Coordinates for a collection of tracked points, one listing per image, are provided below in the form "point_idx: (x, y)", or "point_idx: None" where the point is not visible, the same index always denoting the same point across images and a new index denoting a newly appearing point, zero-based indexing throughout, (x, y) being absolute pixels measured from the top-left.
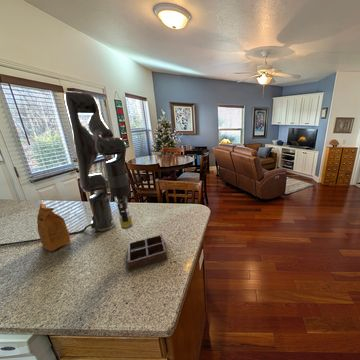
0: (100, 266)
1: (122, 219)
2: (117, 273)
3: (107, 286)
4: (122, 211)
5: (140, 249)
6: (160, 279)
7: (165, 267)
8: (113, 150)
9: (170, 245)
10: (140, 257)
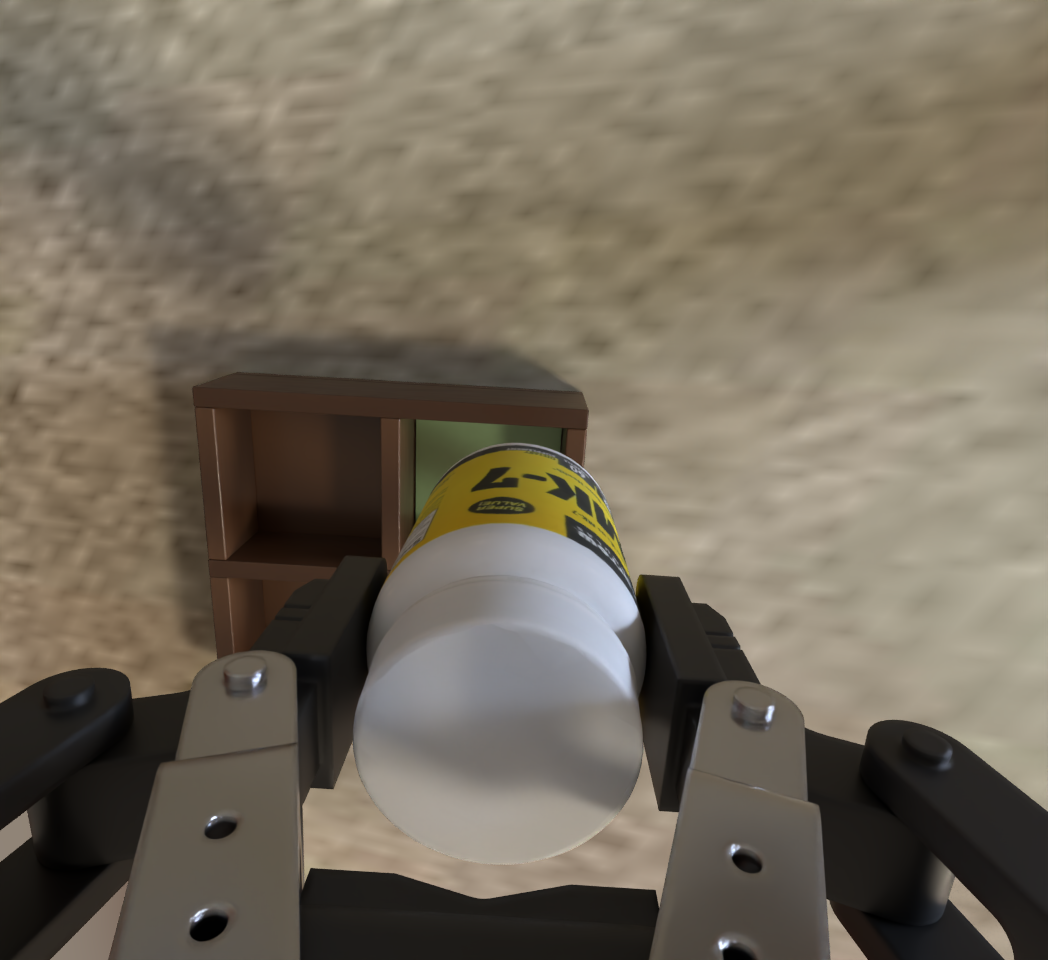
0: (436, 103)
1: (329, 587)
2: (243, 272)
3: (100, 189)
4: (475, 711)
5: (381, 519)
6: (28, 585)
7: (153, 641)
8: None
9: None
10: (367, 482)
